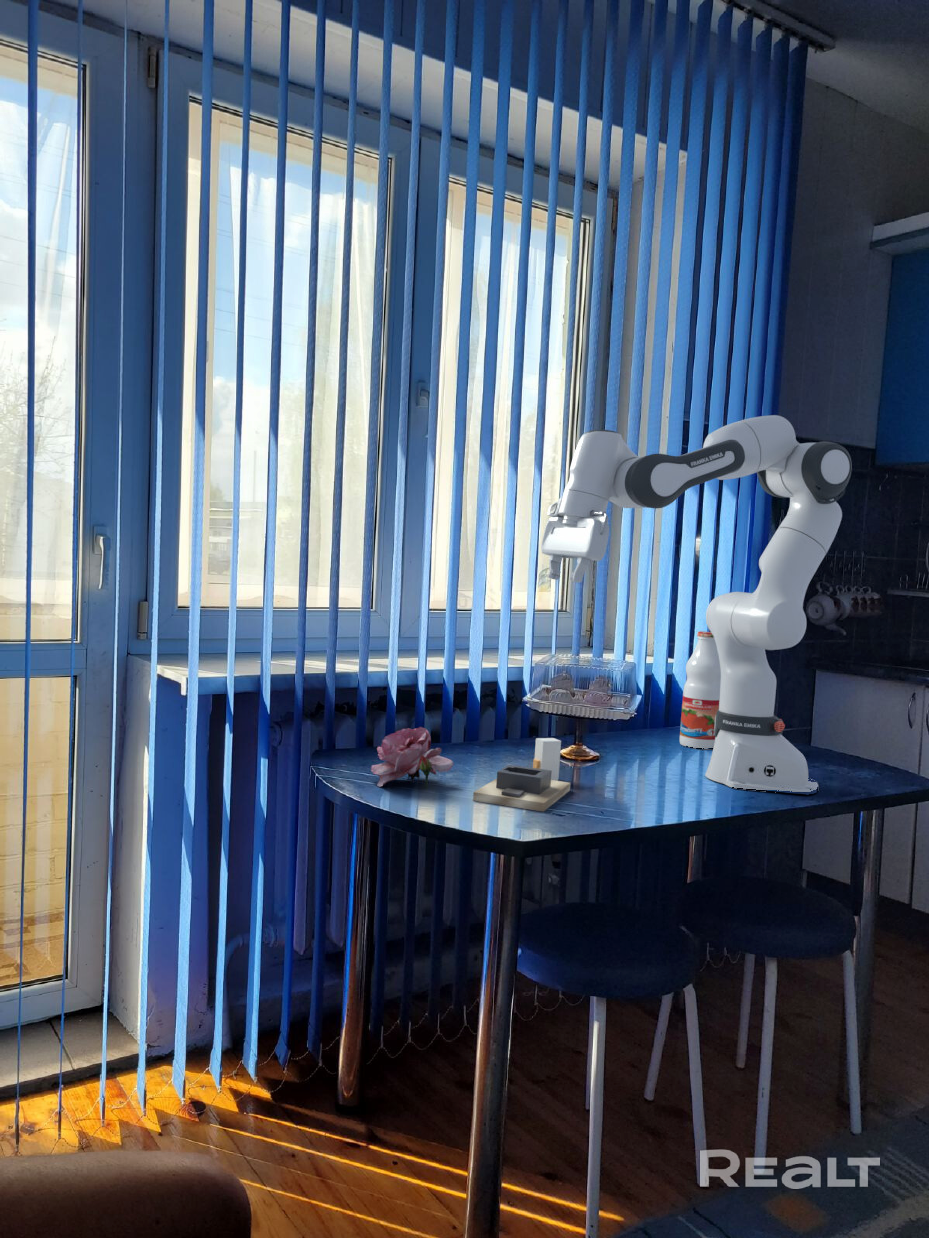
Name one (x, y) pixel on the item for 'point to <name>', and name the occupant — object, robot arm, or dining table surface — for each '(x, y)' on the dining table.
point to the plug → (548, 755)
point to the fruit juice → (701, 694)
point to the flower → (408, 756)
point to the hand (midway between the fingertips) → (563, 580)
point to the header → (524, 779)
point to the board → (521, 796)
